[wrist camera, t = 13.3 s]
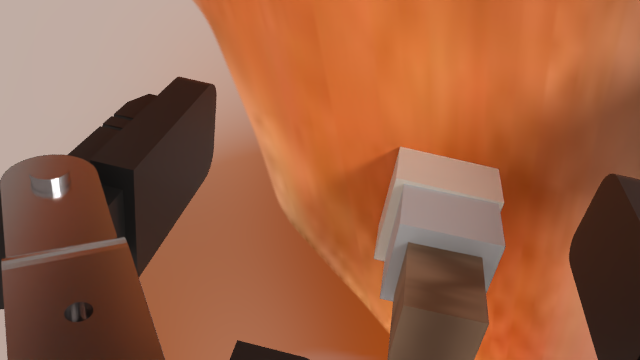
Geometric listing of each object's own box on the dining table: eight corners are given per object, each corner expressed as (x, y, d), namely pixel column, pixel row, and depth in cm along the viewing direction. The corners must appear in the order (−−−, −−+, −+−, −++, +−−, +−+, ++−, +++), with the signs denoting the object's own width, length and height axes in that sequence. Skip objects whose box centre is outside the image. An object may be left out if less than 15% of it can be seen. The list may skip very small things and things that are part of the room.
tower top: (498, 203, 41) (505, 246, 37) (471, 274, 45) (475, 320, 40) (404, 183, 41) (399, 223, 37) (385, 254, 45) (379, 298, 41)
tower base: (498, 167, 45) (504, 203, 41) (468, 243, 49) (470, 282, 45) (400, 145, 45) (396, 178, 41) (379, 222, 50) (373, 258, 46)
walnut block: (482, 257, 37) (488, 323, 32) (462, 310, 40) (466, 378, 35) (408, 242, 38) (403, 305, 33) (393, 295, 41) (387, 360, 36)
